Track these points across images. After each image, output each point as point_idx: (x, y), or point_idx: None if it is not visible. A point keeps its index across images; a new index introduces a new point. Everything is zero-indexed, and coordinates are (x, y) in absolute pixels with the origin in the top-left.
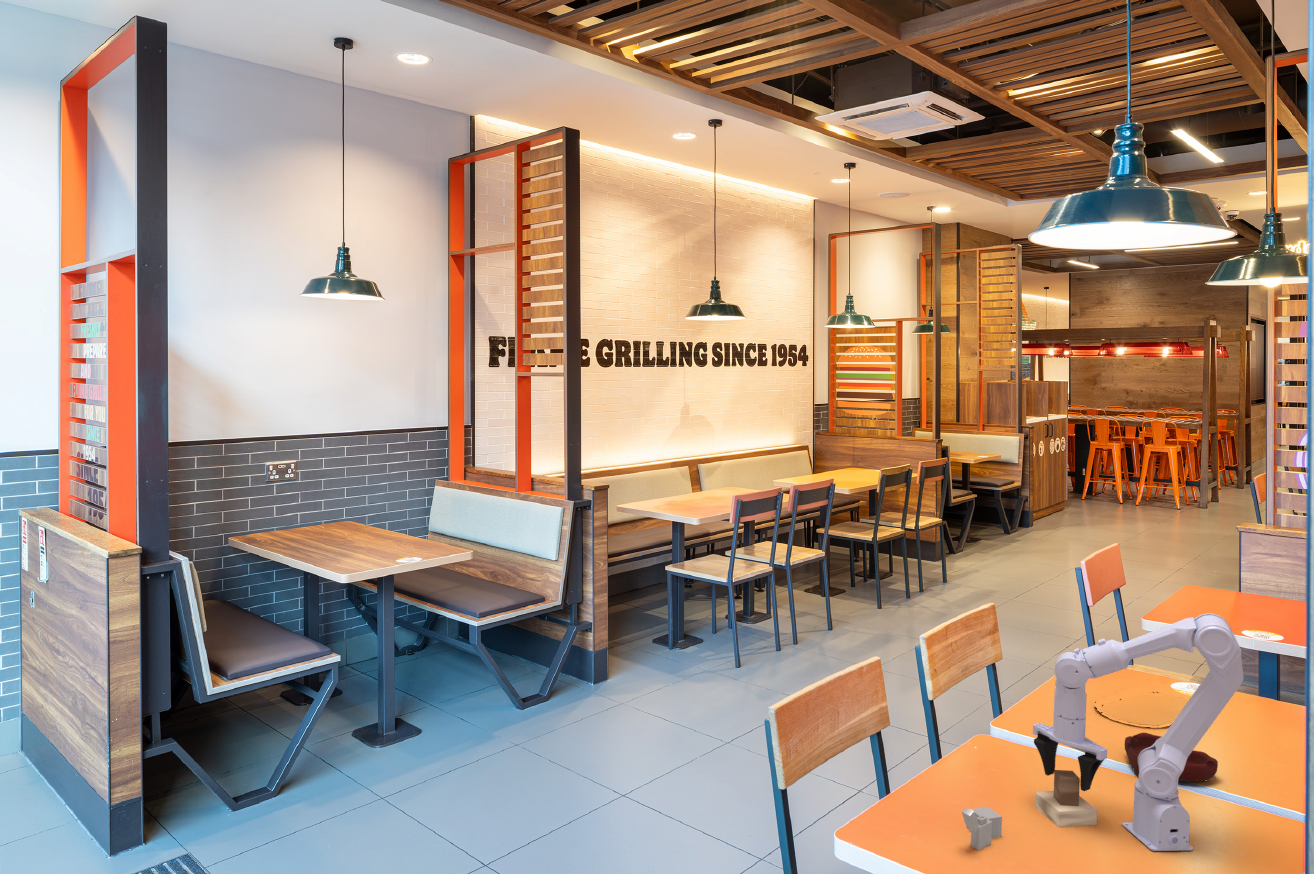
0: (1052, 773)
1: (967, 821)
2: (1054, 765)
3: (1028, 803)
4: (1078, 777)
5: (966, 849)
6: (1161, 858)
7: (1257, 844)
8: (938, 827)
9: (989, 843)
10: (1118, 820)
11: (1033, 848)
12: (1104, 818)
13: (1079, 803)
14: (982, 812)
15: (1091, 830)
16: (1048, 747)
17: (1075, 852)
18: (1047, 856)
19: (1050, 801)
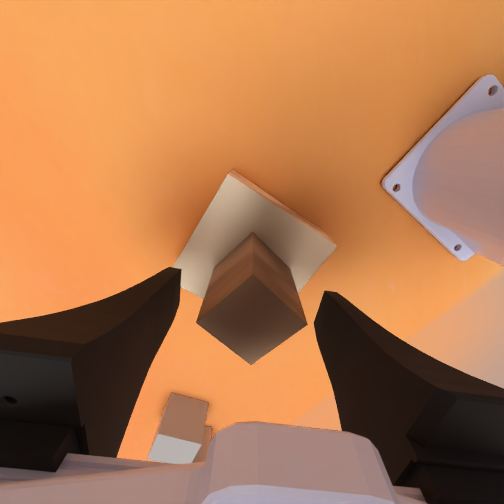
0: (180, 279)
1: None
2: (170, 283)
3: (159, 255)
4: (298, 317)
5: None
6: (476, 270)
7: None
8: (129, 440)
9: (211, 432)
10: (365, 157)
11: (265, 398)
12: (330, 178)
13: (285, 249)
14: (168, 453)
15: (323, 267)
16: (118, 413)
17: (324, 365)
18: (292, 402)
19: None
